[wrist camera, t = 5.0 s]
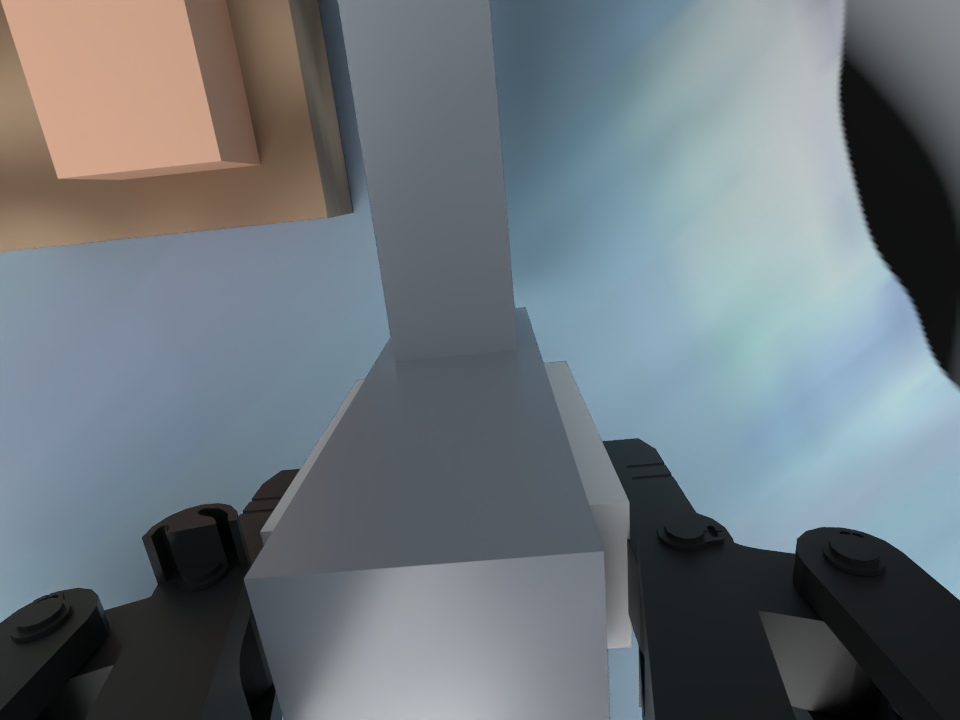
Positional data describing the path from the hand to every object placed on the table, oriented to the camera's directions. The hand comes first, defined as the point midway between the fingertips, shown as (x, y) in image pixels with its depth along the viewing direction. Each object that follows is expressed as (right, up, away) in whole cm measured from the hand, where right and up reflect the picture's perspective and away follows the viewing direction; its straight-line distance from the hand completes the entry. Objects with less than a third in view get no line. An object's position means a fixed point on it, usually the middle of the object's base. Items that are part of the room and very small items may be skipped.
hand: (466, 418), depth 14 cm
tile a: (-10, +11, +4) cm, 15 cm away
